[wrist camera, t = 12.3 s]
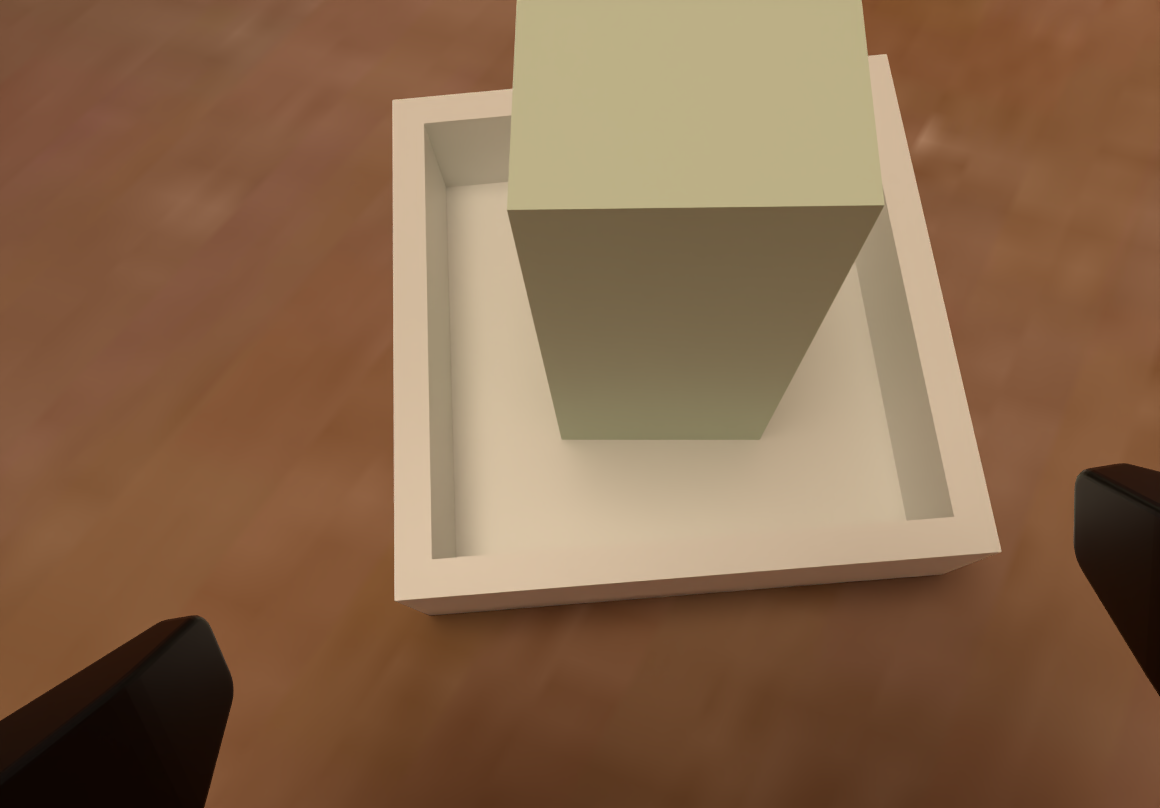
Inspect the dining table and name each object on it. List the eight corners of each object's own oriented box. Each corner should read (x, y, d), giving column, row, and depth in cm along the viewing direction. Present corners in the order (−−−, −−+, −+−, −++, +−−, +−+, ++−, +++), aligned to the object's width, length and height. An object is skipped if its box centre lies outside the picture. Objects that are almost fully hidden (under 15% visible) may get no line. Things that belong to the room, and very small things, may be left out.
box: (942, 574, 21) (1001, 551, 18) (429, 615, 21) (394, 600, 18) (851, 138, 25) (886, 54, 22) (422, 177, 25) (392, 99, 22)
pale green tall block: (759, 440, 22) (884, 205, 11) (561, 439, 22) (507, 209, 12) (750, 262, 23) (851, -87, 13) (565, 264, 24) (520, -76, 13)
